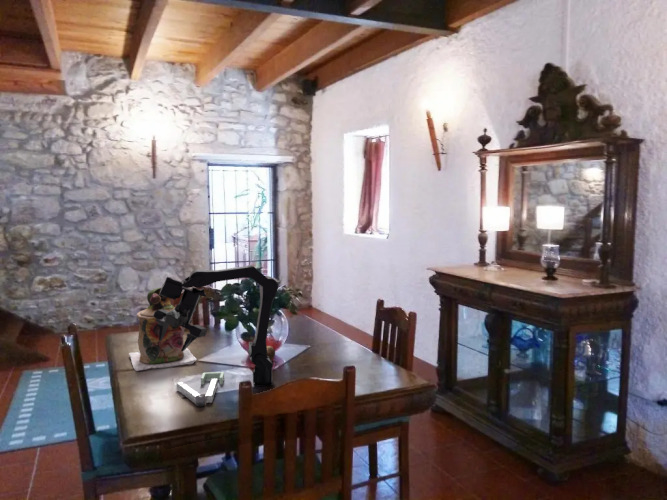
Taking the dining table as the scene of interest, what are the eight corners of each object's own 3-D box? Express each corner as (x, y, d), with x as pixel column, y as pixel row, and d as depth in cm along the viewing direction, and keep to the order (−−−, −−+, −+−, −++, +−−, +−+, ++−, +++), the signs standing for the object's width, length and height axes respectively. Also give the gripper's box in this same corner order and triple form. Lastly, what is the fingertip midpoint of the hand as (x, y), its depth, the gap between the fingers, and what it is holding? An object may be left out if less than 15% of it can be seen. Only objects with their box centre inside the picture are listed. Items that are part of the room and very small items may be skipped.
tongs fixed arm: (217, 385, 194) (217, 378, 193) (211, 402, 177) (211, 395, 177) (212, 385, 193) (211, 378, 193) (205, 402, 177) (205, 395, 177)
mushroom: (268, 348, 231) (265, 339, 226) (280, 358, 226) (278, 349, 222) (253, 359, 227) (251, 350, 223) (265, 370, 222) (263, 361, 218)
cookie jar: (127, 356, 229) (125, 283, 226) (185, 349, 240) (184, 279, 237) (135, 373, 207) (132, 292, 204) (198, 364, 218) (196, 287, 215)
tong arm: (183, 388, 190) (183, 380, 190) (206, 405, 175) (206, 396, 175) (175, 389, 189) (175, 382, 188) (198, 407, 173) (197, 399, 173)
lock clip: (224, 378, 201) (224, 372, 200) (222, 384, 195) (222, 377, 194) (203, 379, 200) (203, 372, 200) (200, 384, 194) (200, 378, 194)
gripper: (153, 294, 180) (136, 337, 180) (200, 314, 176) (183, 359, 175) (169, 294, 191) (153, 335, 190) (214, 314, 187) (198, 355, 186)
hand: (171, 346), depth 185 cm, fingers open, 9 cm apart
